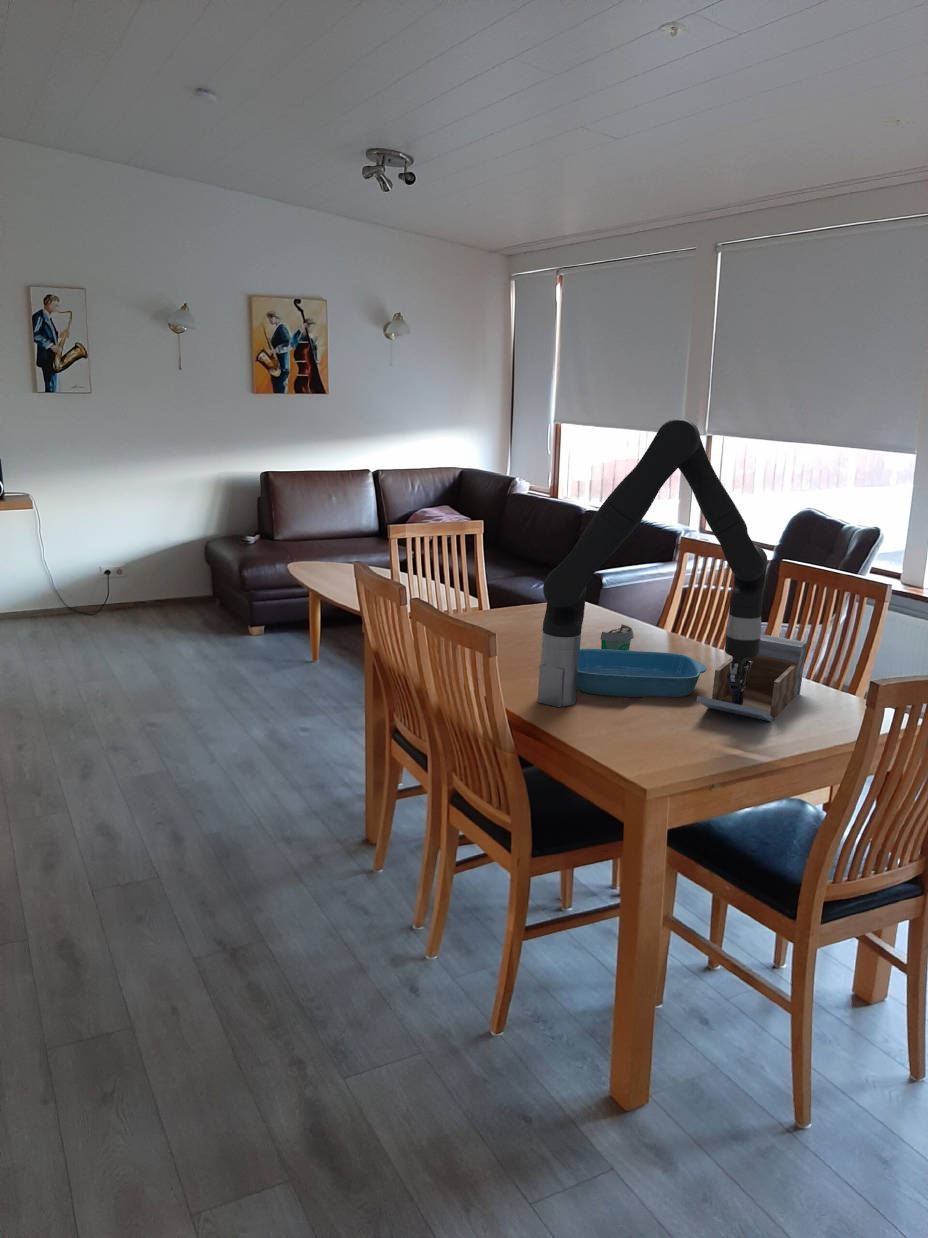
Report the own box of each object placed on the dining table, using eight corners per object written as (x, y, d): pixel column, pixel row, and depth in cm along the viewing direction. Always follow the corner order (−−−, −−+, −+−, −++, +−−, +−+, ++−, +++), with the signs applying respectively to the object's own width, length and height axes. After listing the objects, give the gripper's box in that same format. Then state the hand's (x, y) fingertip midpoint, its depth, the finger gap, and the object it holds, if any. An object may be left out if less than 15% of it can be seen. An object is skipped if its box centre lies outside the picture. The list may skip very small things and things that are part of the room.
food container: (618, 672, 255) (621, 636, 252) (598, 667, 258) (600, 632, 256) (639, 662, 264) (642, 628, 262) (619, 657, 268) (622, 623, 265)
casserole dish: (559, 697, 233) (561, 669, 231) (558, 670, 255) (559, 644, 253) (710, 706, 231) (713, 679, 229) (696, 678, 252) (698, 653, 250)
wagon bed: (773, 723, 221) (780, 665, 217) (710, 709, 228) (716, 653, 225) (799, 694, 242) (806, 642, 239) (741, 682, 250) (747, 631, 246)
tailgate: (774, 723, 220) (763, 715, 209) (708, 708, 228) (695, 700, 217) (775, 718, 220) (764, 710, 209) (709, 703, 228) (696, 695, 217)
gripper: (752, 644, 206) (745, 718, 211) (767, 629, 217) (761, 700, 221) (718, 638, 210) (712, 711, 214) (735, 624, 220) (729, 694, 225)
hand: (737, 705), depth 218 cm, fingers closed
